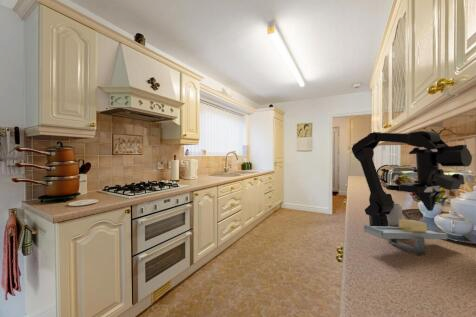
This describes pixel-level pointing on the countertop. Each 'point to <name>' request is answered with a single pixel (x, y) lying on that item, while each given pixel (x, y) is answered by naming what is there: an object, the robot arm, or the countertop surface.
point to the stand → (417, 250)
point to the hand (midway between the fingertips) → (430, 210)
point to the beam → (401, 233)
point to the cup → (395, 215)
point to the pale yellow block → (412, 226)
